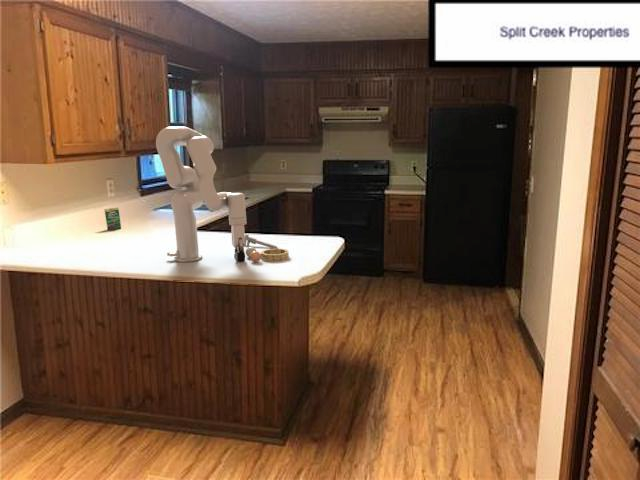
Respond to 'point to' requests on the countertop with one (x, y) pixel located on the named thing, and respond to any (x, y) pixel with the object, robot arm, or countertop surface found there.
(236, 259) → the steel ball
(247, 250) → the cream ball
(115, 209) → the coffee box
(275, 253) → the ring
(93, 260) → the countertop surface
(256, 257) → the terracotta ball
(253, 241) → the caliper
